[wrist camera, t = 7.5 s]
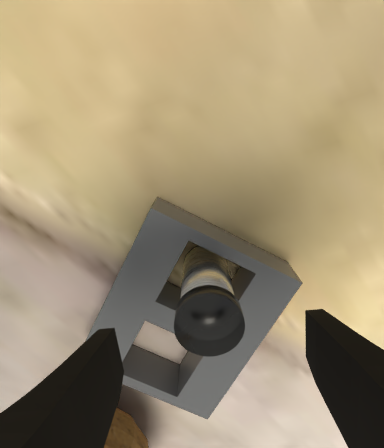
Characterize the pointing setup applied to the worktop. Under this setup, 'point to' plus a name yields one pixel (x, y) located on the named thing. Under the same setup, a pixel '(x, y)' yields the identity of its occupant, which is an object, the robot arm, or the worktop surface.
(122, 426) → the potato
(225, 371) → the socket strip
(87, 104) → the worktop surface
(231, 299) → the jar
